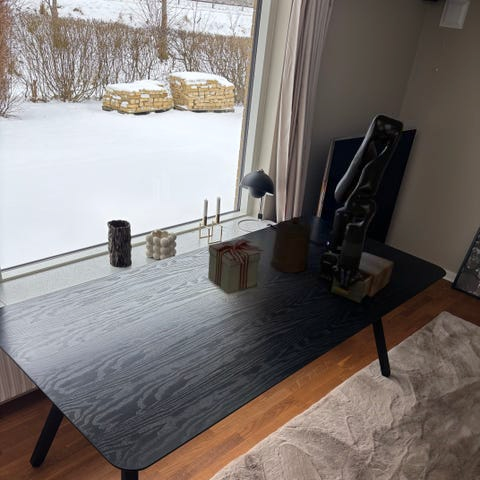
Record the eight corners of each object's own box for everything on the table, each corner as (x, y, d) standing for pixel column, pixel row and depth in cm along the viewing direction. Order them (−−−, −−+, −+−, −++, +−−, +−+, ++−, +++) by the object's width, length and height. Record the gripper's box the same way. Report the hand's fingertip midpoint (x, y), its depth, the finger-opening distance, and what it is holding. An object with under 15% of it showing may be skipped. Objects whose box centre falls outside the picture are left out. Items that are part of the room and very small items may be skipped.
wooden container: (311, 264, 215) (318, 217, 204) (296, 276, 204) (303, 227, 193) (281, 255, 222) (287, 209, 210) (265, 266, 211) (270, 218, 199)
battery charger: (316, 278, 204) (320, 253, 198) (321, 275, 207) (325, 250, 201) (330, 283, 200) (335, 258, 194) (335, 281, 203) (340, 256, 197)
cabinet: (371, 296, 193) (376, 275, 188) (341, 285, 200) (345, 263, 195) (388, 282, 205) (394, 262, 199) (359, 272, 211) (363, 251, 206)
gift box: (234, 298, 185) (237, 257, 176) (205, 279, 196) (206, 240, 187) (266, 286, 195) (270, 247, 186) (236, 269, 206) (239, 231, 197)
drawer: (352, 308, 182) (356, 290, 178) (323, 296, 189) (326, 279, 184) (377, 289, 197) (381, 271, 193) (349, 279, 203) (353, 262, 199)
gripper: (372, 254, 175) (363, 295, 185) (340, 243, 182) (332, 284, 191) (363, 260, 170) (354, 302, 179) (330, 249, 177) (323, 290, 186)
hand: (343, 293), depth 185 cm, fingers closed
